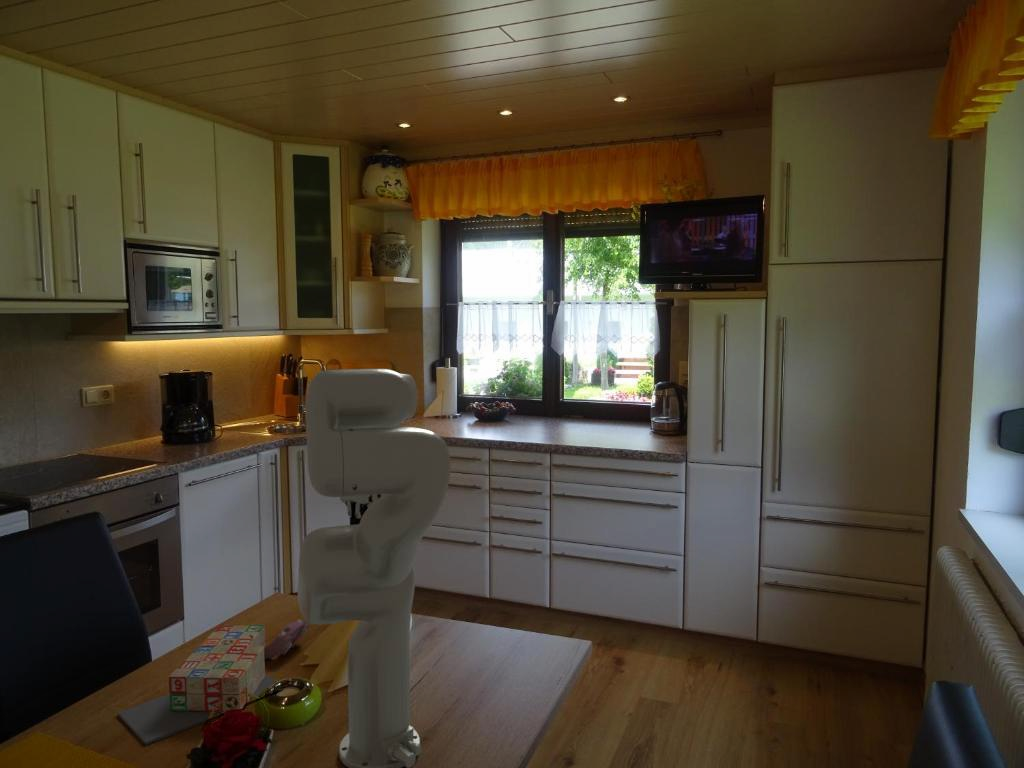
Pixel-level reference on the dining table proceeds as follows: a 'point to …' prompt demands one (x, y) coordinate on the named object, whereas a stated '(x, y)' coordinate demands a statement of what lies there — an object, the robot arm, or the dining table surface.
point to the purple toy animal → (286, 639)
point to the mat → (168, 716)
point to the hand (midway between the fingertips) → (359, 536)
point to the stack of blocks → (220, 671)
